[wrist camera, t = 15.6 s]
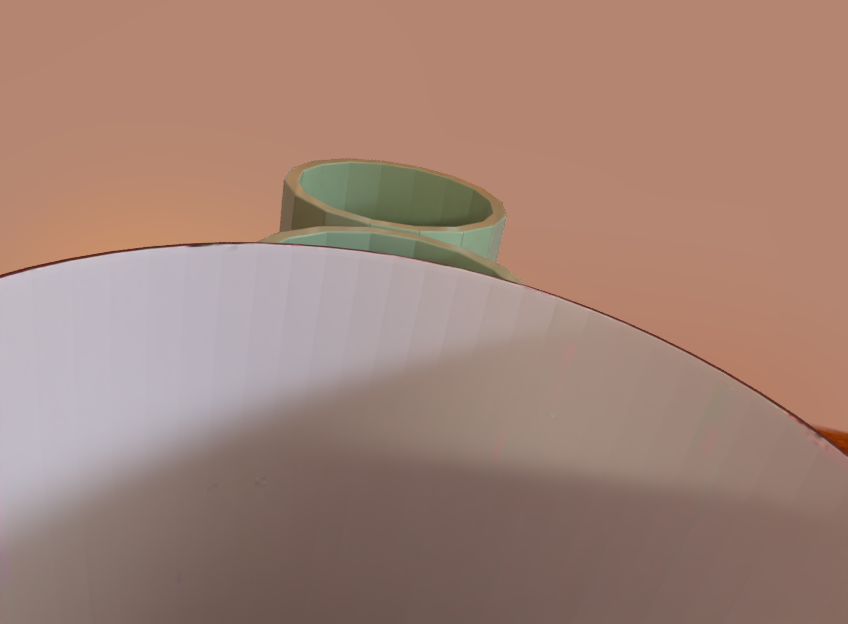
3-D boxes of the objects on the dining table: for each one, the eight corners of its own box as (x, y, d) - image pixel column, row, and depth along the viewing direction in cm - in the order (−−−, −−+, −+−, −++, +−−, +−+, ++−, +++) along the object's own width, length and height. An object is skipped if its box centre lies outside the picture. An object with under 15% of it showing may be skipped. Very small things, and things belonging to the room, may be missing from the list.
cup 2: (448, 547, 23) (519, 249, 19) (459, 745, 17) (565, 380, 13) (241, 521, 22) (265, 210, 18) (180, 717, 17) (195, 328, 12)
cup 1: (442, 425, 29) (494, 178, 25) (448, 542, 23) (518, 246, 19) (278, 403, 28) (302, 147, 24) (242, 517, 23) (267, 207, 18)
